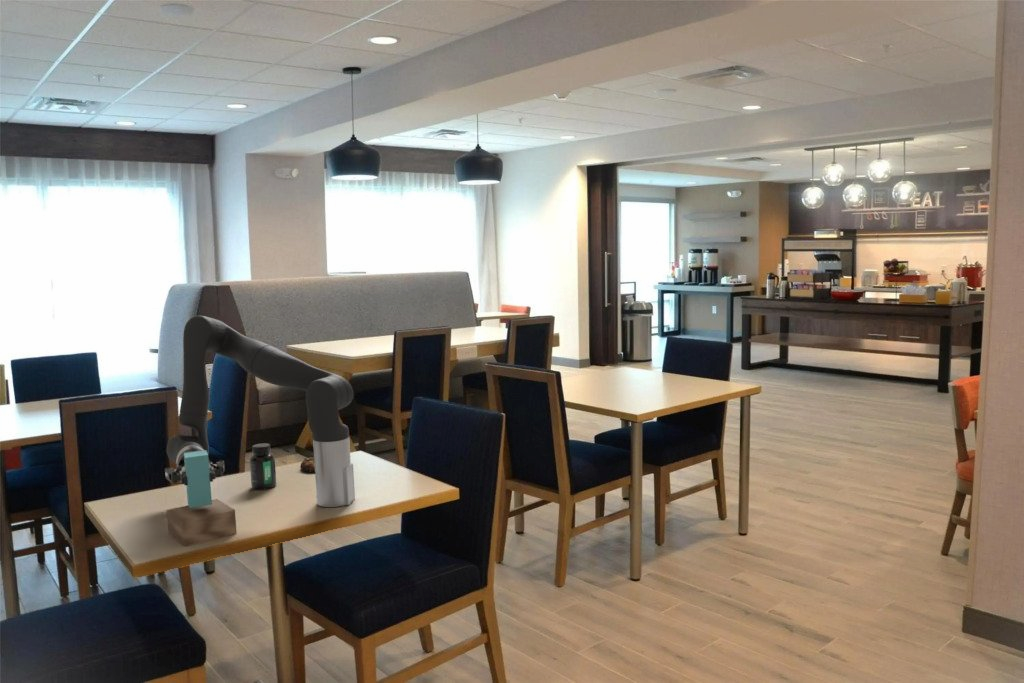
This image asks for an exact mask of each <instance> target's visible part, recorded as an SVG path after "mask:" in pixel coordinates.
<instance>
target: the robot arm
mask: <svg viewBox="0 0 1024 683" xmlns="http://www.w3.org/2000/svg"><path fill="white" fill-rule="evenodd" d="M182 340H183V341H182V344H183V345H182V347H183V348H182V349H183V386H182V394H181V401H180V408H179V414H178V423H179V424H180V425H181V426H184V427H186V428H187V427H188V428H191V429H192V430H194V431H195V432H196V435H190V434H189V435H187V434H175V435H173V436H172V437H170V438H169V439H168V441H167V445H166V454H167V457H168V459H169V460H170V461H171V462H172V463H174V464H176V468H175V469H174V468H173V467H166V468H164V472H165V473H164V474H165V479H166V480H167V481H168V482H170V483H172V484H176V483H178V481H179V482H180V484H181V485H184V486H186V485H188V481H187V476H186V473H185V463H184V453H188V452H196V451H203V450H206V451H207V453H208V455H209V453H210V446H209V445H210V444H209V439H208V433H207V419H208V411H209V404H210V390H209V389H210V388H209V385H208V381H207V376H206V369H205V362H206V361H205V358H206V353H207V352H208V353H213V354H217V355H220V356H223V357H225V358H227V359H231V360H233V361H234V362H236V363H237V364H239V366H240V367H241V368H242V369H243V370H245V371H246V372H247V373H248V374H250V375H252V376H254V377H256V378H258V379H259V380H261V381H262V382H263V381H264V382H266V383H268V384H270V385H271V384H272V385H275V386H279V387H283V388H289V389H296V390H301V391H303V392H306V394H305V402H306V403H305V404H306V410H307V412H306V413H307V421H308V427H309V429H310V432H311V434H312V444H313V445H312V446H313V455H314V463H315V473H314V477H315V490H316V491H315V492H316V505H317V506H319V507H324V508H336V507H341V506H343V507H344V506H350V505H351V504H352V502H353V501H354V500H355V499H356V492H355V488H356V487H355V473H354V463H351V448H350V444H351V443H350V430H349V427H348V425H346V424H344V423H341V422H340V417H339V411H340V410H342V409H344V408H346V407H348V406H349V405H350V404H351V403H352V401H353V399H354V395H355V394H354V389H353V386H352V385H351V383H350V382H349V381H348V380H347V379H346V378H344V377H343V376H341V375H339V374H337V373H333V372H330V371H326V370H324V369H321V368H318V367H316V366H313V365H312V364H308V362H305V361H303V360H301V359H299V358H297V357H295V356H293V355H290V354H288V353H287V352H284V351H283V350H282V349H280V348H279V349H278V348H277V347H275V346H272V345H270V344H268V343H265V342H262V341H260V340H257V339H254V338H251V337H247V336H245V335H244V334H241V333H240V332H238V331H237V330H235V329H234V328H232V327H230V326H229V325H227V323H224V322H223V321H222V320H219V319H216V318H213V317H209V316H205V315H195V316H193V317H190V318H189V319H188V321H187V322H186V324H185V325H184V328H183V338H182ZM208 459H209V457H208ZM225 467H226V466H225V460H223V459H220V460H218V461H216V463H213V462H212V461H211V460H210V459H209V472H210V473H209V477H210V483H212V482H214V480H216V478H217V477H222V476H223V475H224V473H225V471H226V468H225Z"/></svg>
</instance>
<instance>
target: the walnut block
mask: <svg viewBox="0 0 1024 683" xmlns="http://www.w3.org/2000/svg"><path fill="white" fill-rule="evenodd" d="M166 518H167V519H166V521H167V531H168V535H170V536H171V537H172V539H174V540H175V541H177V542H178V543H180V544H181V545H182V546H183V547H188V546H192V545H196V544H199V543H200V544H201V543H204V542H208V541H212V540H215V539H220V538H224V537H229V536H232V534H233V535H235V534H236V533H237V531H238V530H237V520H236V510H235V509H234V508H232V507H231V506H229V505H227V504H226V503H224V502H223V501H221V500H219V499H218V498H215V499H212V505H206V506H199V507H193V508H189V505H188V504H187V505H185V506H184V505H183V506H179V507H174V508H170V509H166ZM237 534H238V533H237Z"/></svg>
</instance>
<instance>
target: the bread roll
mask: <svg viewBox="0 0 1024 683" xmlns="http://www.w3.org/2000/svg"><path fill="white" fill-rule="evenodd" d="M299 468H300V471H301V472H303V473H307V474H308V473H309V474H310V473H311V474H315V463H314V454H312V455H311V456H310V457H305V458H304V459H303V460H302V461H301V463H300V467H299Z"/></svg>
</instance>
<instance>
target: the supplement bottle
mask: <svg viewBox="0 0 1024 683" xmlns="http://www.w3.org/2000/svg"><path fill="white" fill-rule="evenodd" d="M251 448H252V450H251V452H252V453H253V454H252V455H251V456H250V457H249V471H250V485H251V489H253V490H256V491H257V490H258V491H259V490H260V491H264V490H269V489H272V488H275V487H276V486H277V472H276V471H277V470H276V459H275V458H276V456H275V455H274V454H273V453H272V452H271V451H272V449H271V444H270V443H266V442H265V443H263V442H262V443H257V444H254V445H252V447H251Z"/></svg>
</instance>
